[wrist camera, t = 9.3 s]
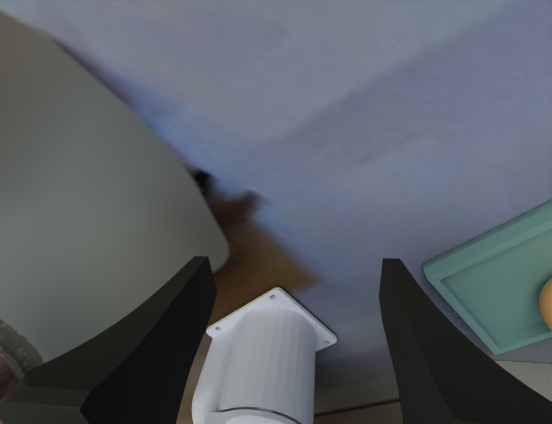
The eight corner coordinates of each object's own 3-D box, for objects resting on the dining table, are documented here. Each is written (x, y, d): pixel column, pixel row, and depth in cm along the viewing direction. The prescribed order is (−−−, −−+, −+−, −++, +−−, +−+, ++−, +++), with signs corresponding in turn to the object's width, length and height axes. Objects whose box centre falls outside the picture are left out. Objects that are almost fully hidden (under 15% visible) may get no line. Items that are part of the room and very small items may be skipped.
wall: (600, 357, 27) (633, 401, 24) (585, 379, 28) (615, 422, 26) (395, 347, 29) (403, 385, 26) (392, 367, 31) (399, 405, 28)
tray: (487, 339, 27) (495, 355, 26) (421, 264, 24) (426, 278, 23) (635, 286, 23) (653, 303, 22) (578, 186, 20) (596, 198, 18)
